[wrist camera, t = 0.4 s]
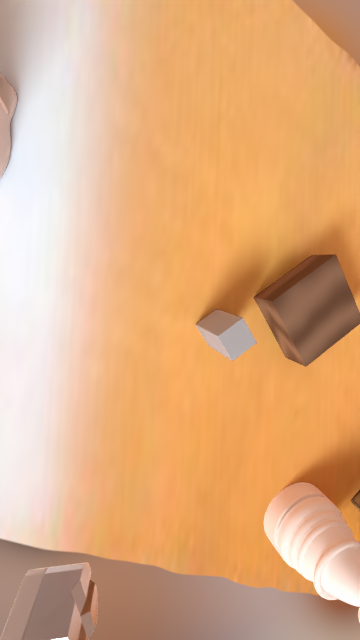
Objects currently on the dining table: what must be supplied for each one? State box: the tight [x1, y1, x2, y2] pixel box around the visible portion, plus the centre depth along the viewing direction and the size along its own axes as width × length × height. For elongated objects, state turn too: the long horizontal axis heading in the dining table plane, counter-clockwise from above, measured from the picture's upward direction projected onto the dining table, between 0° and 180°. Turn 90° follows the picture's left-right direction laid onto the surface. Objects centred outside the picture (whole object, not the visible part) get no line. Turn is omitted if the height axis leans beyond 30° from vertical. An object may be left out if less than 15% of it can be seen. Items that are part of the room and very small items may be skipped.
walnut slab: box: [254, 255, 360, 366], centre depth 50 cm, size 12×12×5 cm
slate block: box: [196, 309, 257, 361], centre depth 45 cm, size 4×4×8 cm
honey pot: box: [264, 482, 360, 621], centre depth 52 cm, size 13×13×18 cm
